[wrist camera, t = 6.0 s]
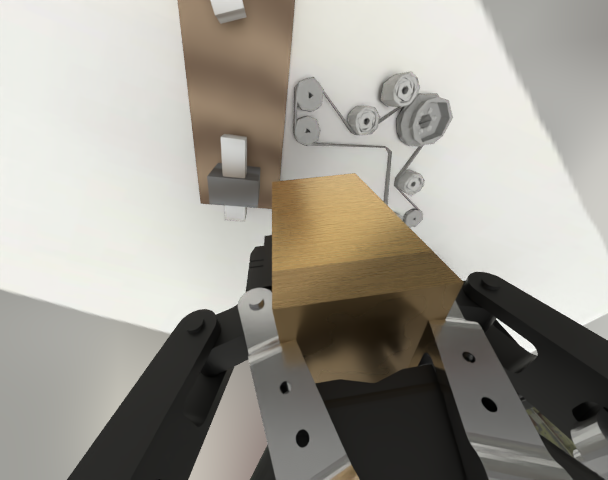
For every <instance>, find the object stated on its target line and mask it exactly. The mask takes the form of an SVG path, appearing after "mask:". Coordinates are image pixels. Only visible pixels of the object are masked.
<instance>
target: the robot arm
mask: <svg viewBox="0 0 608 480" xmlns="http://www.w3.org/2000/svg"><path fill="white" fill-rule="evenodd" d="M463 282H464V283H463V285H462V287H461V289H460V291H459V293H458V295H457V297H456V299H455V301H454V303H453V305H452V307H451V309H450V311H449V313H448V315H447V317H446V319H436V320H428V323H427V325H426V327H425V329H424V332H423V334H422V336H421V339H420V341H419V343H418V346H417V348H416V350H415V352H414V355H413V357H412V359H411V362H410V364H409V366H408V368H405V369H401V370H399V371H397V372H396V373H394V374H392V375H390V376H388V377H386V378H384V379H382V380H380V381H379V382H376V383H368V382H359V381H351V380H343V379H338V380H332V381H326V382H320V383H315V382H314V380H313V378H312V375H311V373H310V371H309V369H308V366H307V364H306V362H305V360H304V357H303V355H302V353H301V351H300V348H299V346H298V344H297V342H296V340H294V341H289V342H285V343H281V344H280V341H279V337H278V333H277V328H276V324H275V320H274V316H273V311H272V235H269V236H265V241H264V246H259V247H255V248H254V250H253V251H252V253H251V255H250V263H249V271H248V279H247V287H246V293H245V294H243V295H242V297H241V298H240V300H239V302H238V304H237V305H236V306H234V307H233V308H231V309H229V310H226V311H224V312H221V313H219V314H217V315H215V313H214V312H212V311H210V310H207V309H202V310H197V311H194V312H192V313H190V314H188V315H187V316H186V317H184V318H183V319H182V320H181V321H180V322H179V324H178V325H177V327H176V328H175V329H174V331H173V332H172V333H171V335H170V337H169V338H168V339H167V341H166V342H165V343H164V345H163V346H162V348H161V349H160V350H159V352H158V353H157V354H156V356H155V357H154V359H153V360H152V361H151V363H150V364H149V366H148V367H147V368H146V370H145V371H144V373H143V374H142V376H141V377H140V378H139V380H138V381H137V383H136V384H135V385H134V387H133V388H132V389H131V391H130V392H129V394H128V395H127V397H126V398H125V399H124V401H123V402H122V403H121V405H120V406H119V408H118V409H117V411H116V412H115V413H114V415H113V416H112V417H111V419H110V420H109V422H108V423H107V424H106V426H105V427H104V429H103V430H102V431H101V433H100V434H99V436H98V437H97V438H96V440H95V441H94V443H93V444H92V445H91V447H90V448H89V450H88V451H87V452H86V454H85V455H84V457H83V458H82V460H81V461H80V462H79V464H78V465H77V466H76V468H75V469H74V471H73V472H72V474H71V475H70V476H69V478H68V479H67V480H188V478H189V476H190V474H191V471H192V469H193V466H194V464H195V461H196V459H197V457H198V454H199V452H200V449H201V447H202V444H203V442H204V439H205V437H206V435H207V432H208V430H209V427H210V425H211V422H212V420H213V417H214V415H215V413H216V410H217V408H218V405H219V403H220V400H221V398H222V395H223V393H224V391H225V388H226V386H227V383H228V381H229V378H230V376H231V373H232V371H233V369H234V366H236V365H238V364H240V363H242V362H244V361H245V360H248V359H249V364H250V369H251V373H252V378H253V382H254V386H255V391H256V395H257V399H258V404H259V408H260V412H261V417H262V421H263V426H264V430H265V434H266V439H267V443H268V445H267V447H266V449H265V451H264V453H263V455H262V457H261V459H260V461H259V463H258V465H257V467H256V469H255V471H254V473H253V475H252V477H251V479H250V480H608V340H606V339H604V338H602V337H601V336H599V335H597V334H595V333H594V332H592V331H590V330H588V329H587V328H585V327H584V326H582V325H580V324H578V323H577V322H575V321H573V320H572V319H570V318H568V317H566V316H565V315H563V314H561V313H560V312H558V311H556V310H555V309H553V308H551V307H549V306H548V305H546V304H544V303H543V302H541V301H539V300H537V299H536V298H534V297H532V296H531V295H529V294H527V293H525V292H524V291H522V290H520V289H519V288H517V287H515V286H513V285H512V284H510V283H508V282H507V281H505V280H503V279H501V278H500V277H498V276H495V275H493V274H489V273H485V272H474V273H471V274H470V275H469V276H468V278H467V280H466V281H463ZM496 318H497V319H499V320H500V321H502V322H503V323H504V324H506V325H507V326H509V327H510V328H511V329H513V330H514V331H515V332H517V333H518V334H520V335H521V336H522V337H524V338H525V339H527V340H528V341H529V342H531V343H532V344H533V345H534V346H535V348H536V349H537V352H538V356H536V355H533V354H531V353H529V352H528V351H526V350H525V349H524V348H522V347H521V346H520V345H518V344H517V343H516V342H514V341H513V340H512V339H510V338H509V337H508V336H506V335H505V334H504V333H502V332H501V331H500V330H498V329H497V328H496V327H495V326H493V325H492V323H493V322H494V321H495V319H496ZM515 390H516V391H517V392H518V393H519V394H520V395H521V396H523V397H524V398H525V399H526V400H527V401H528V402H529V403H530V404H531V405H532V406H534V407H535V408H536V409H537V410H538V411H539V412H540V413H541V414H542V415H544V416H545V417H546V418H547V419H548V420H549V421H550V422H551V423H552V424H554V425H555V426H556V427H557V428H558V429H559V430H560V431H561V432H562V433H564V434H565V435H566V436H567V437H568V438H569V439H570V440H571V441H572V442H574V445H575V446H576V449H574V450H573V455H574V457H572V456H571V455H569V454H568V453H566V452H565V451H564V450H562V449H561V448H559V447H558V446H556V445H555V444H553V443H552V442H551V441H549V440H548V439H546V438H545V437H543V436H542V435H540V434H539V433H538V432H537V430H536V429H535V427H534V425H533V423H532V421H531V419H530V417H529V415H528V414H527V412H526V410H525V408H524V406H523V404H522V402H521V400H520V399H519V397H518V395H517V393H516V391H515Z"/></svg>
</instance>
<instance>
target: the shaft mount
mask: <svg viewBox="0 0 608 480" xmlns="http://www.w3.org/2000/svg"><path fill="white" fill-rule="evenodd" d="M294 5H295V0H178V8H179V17H180V25H181V34H182V43H183V52H184V60H185V69H186V78H187V87H188V96H189V104H190V113H191V122H192V131H193V139H194V148H195V157H196V166H197V174H198V183H199V192H200V201H201V204H214V205H224V210H225V220H233V221H245V219H246V214H247V207H253V208H266V209H272V182H277V181H280V171H281V159H282V147H283V135H284V123H285V111H286V100H287V88H288V76H289V64H290V52H291V41H292V29H293V17H294Z"/></svg>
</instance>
